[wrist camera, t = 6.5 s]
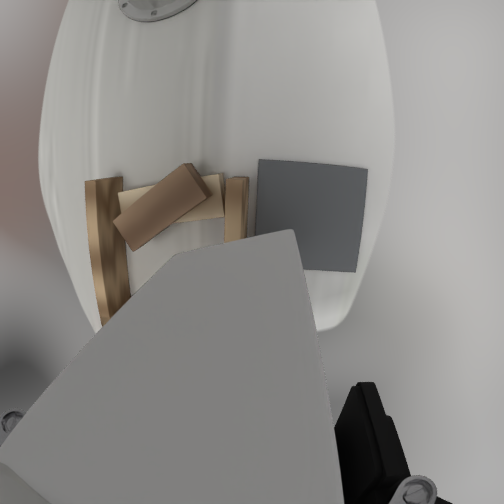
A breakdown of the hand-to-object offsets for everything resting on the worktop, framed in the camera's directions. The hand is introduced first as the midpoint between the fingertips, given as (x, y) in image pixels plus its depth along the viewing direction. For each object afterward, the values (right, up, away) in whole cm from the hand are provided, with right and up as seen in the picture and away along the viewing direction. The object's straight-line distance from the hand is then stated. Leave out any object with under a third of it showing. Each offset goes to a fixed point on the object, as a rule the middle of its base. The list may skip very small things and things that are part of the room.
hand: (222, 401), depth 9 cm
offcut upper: (-8, +10, +21) cm, 25 cm away
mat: (+7, +9, +23) cm, 26 cm away
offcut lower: (-8, +11, +24) cm, 28 cm away
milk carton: (+1, +3, +9) cm, 9 cm away
